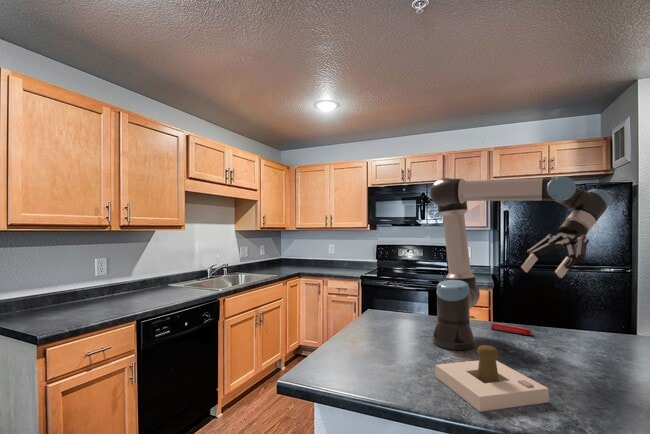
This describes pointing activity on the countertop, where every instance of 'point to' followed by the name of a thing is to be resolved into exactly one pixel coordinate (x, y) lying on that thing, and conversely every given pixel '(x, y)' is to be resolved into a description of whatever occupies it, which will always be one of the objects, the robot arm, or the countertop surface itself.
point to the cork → (487, 364)
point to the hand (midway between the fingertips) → (539, 272)
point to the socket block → (491, 386)
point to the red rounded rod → (511, 329)
